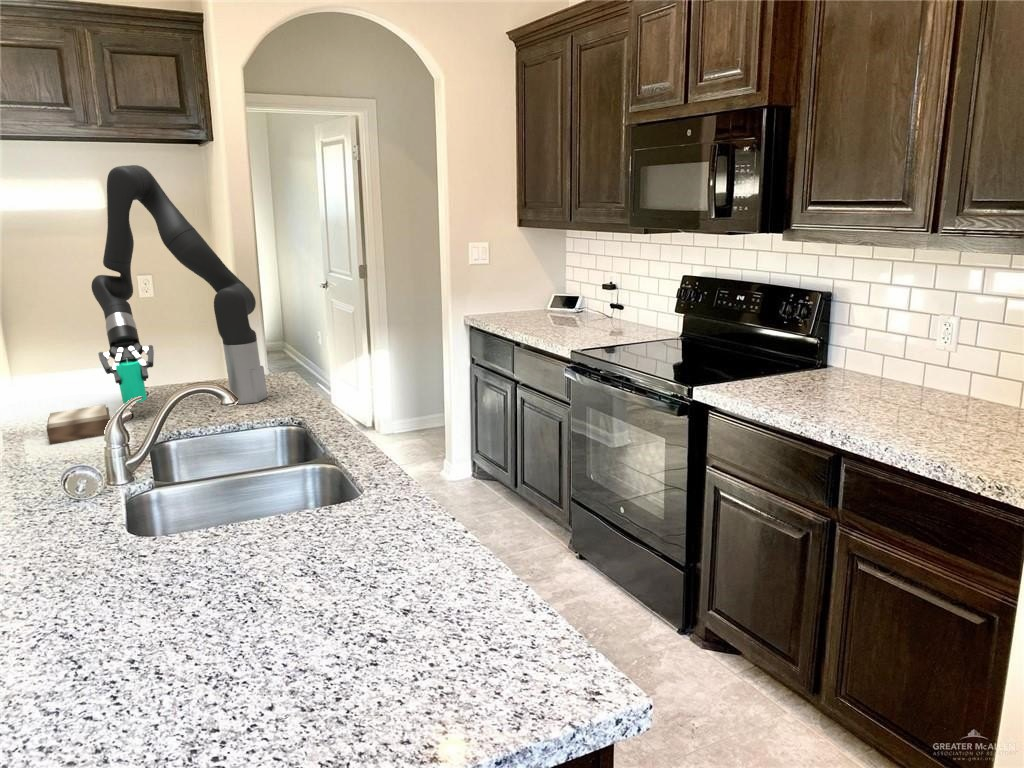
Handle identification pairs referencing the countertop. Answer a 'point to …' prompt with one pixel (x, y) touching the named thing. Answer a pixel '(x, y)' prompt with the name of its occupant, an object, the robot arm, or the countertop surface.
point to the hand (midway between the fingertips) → (132, 381)
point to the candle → (131, 381)
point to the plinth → (77, 424)
